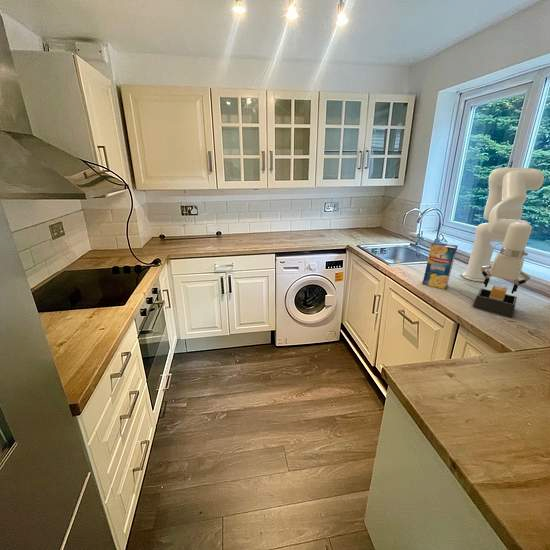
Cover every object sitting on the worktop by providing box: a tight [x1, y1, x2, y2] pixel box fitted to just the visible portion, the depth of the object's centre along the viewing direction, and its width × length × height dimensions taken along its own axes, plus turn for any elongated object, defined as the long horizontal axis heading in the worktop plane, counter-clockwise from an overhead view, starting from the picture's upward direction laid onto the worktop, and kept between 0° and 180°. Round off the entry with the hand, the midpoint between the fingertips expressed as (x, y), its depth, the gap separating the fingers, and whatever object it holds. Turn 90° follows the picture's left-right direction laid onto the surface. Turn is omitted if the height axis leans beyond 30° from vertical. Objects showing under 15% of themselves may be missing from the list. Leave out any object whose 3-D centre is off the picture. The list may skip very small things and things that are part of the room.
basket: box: [473, 287, 518, 318], centre depth 129 cm, size 14×12×6 cm
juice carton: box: [489, 284, 508, 301], centre depth 128 cm, size 6×5×9 cm
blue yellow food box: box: [422, 241, 459, 290], centre depth 150 cm, size 7×11×22 cm, turn 51°
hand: (498, 289), depth 127 cm, fingers open, 9 cm apart
